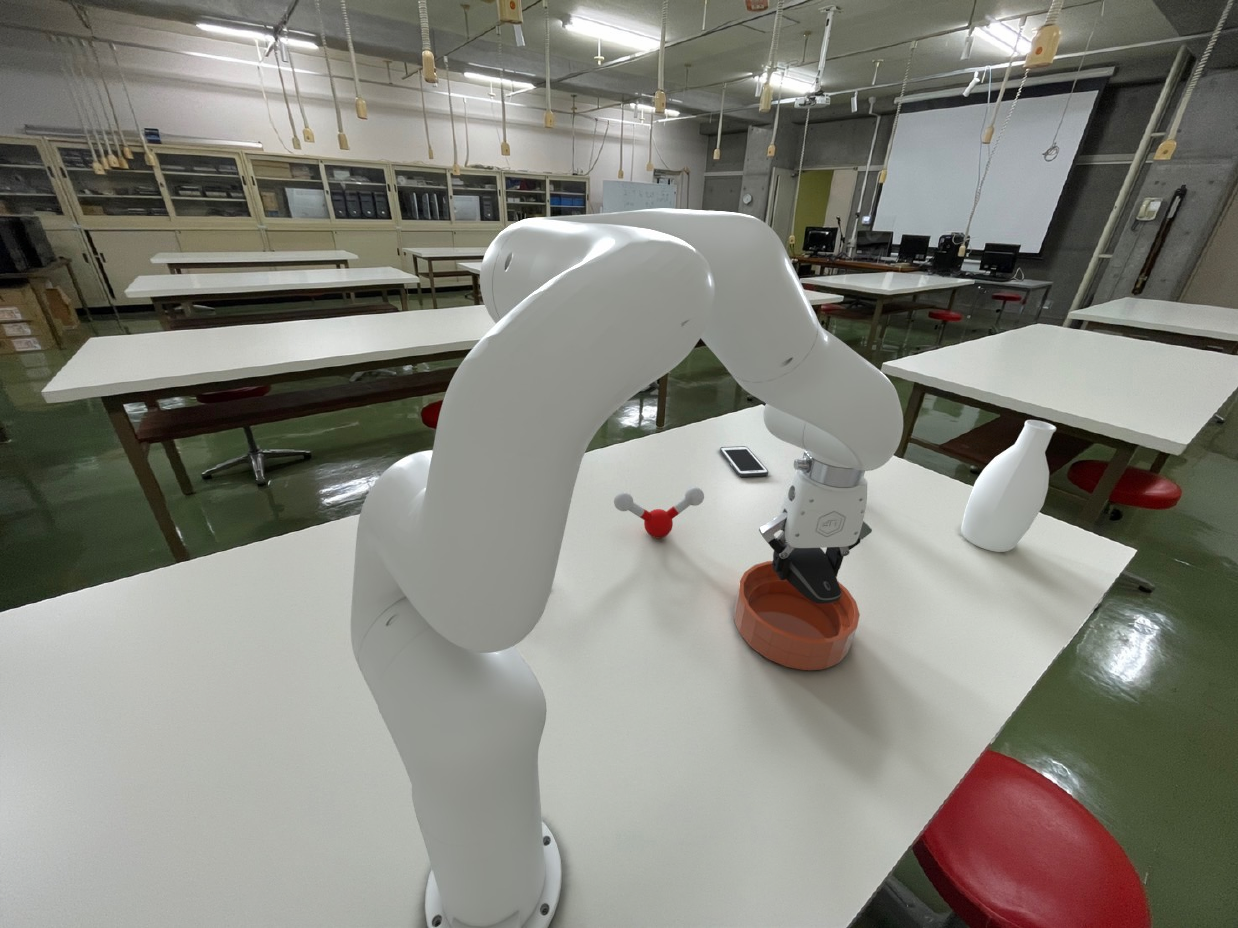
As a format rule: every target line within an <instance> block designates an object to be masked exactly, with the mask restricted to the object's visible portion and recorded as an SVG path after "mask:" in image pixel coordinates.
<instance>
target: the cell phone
mask: <svg viewBox="0 0 1238 928" xmlns="http://www.w3.org/2000/svg"><path fill="white" fill-rule="evenodd" d="M719 452H720V453H721V455H722V456H723V457H724V459H725V460H726V461H727V462H728V463H729V465H730V467H731V468H732V469H733V470H734V471H735V473H736V475H737V476H739V477H742V478H746V477H763V476H764V477H765V476H768V475H769V469H767V467H766V466H765V465H764V464H763V463H762V462H761V461H760V459H758V457H757V456H756V455H755V454H754V453H753V452H752V451H751V450H750V448H749V447H748V446H747V445H745V446H744V445H739V446H738V445H737V446H721V447H719Z"/></svg>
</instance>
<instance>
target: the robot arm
mask: <svg viewBox="0 0 1238 928" xmlns="http://www.w3.org/2000/svg"><path fill="white" fill-rule="evenodd" d="M479 286H480V287H479V289H480V293H481V297H482V301H483V304H484V307H485V308H486V311H487V313H488V315H489V316H490V318H491V319H492V320H493V322H494V323H495V324H494V326H492V327H491V328H490V329H489V330H488V331H487V332H486V333H485V334H484V335H483V336H482V337H481V338H480V339H479V341H478V342H477V343H476V344H475V345H474V346H473V347H472V348H471V350H470V351H469V352H468V353H467V355H466V356H465V357H464V358H463V360H462V362H460V364H459V366H458V368H457V369H456V371H455V372H454V374H453V377H452V378H451V380H450V382H449V385H448V387H447V390H446V391H445V395H444V398H443V401H442V404H441V407H440V411H439V414H438V420H437V424H436V430H435V435H434V441H433V446H432V450H431V449H429V450H423V451H418V452H415V453H412V454H409V455H406V456H405V457H404V456H403V458H401V459H399V460H398V461H396V462H393V464H392V465H390V466H389V467H388V468H387V469H386V470H384V472H383V473H381V475H380V476H378V478H377V479H376V480H375V482H374V483H373V485H372V486H371V488H370V489H369V491H368V493H367V495H366V496H365V500H364V502H363V504H362V506H361V510H360V513H359V517H358V522H357V529H356V540H355V541H356V542H355V553H354V554H355V555H354V565H353V578H352V579H353V580H352V592H351V594H352V595H351V605H350V607H351V609H350V642H351V649H352V653H353V657H354V659H355V661H356V664H357V666H358V668H359V671H360V673H361V675H362V677H363V680H364V681H365V683H366V685H367V687H368V689H369V691H370V693H371V696H372V697H373V700H374V701H375V704H376V706H377V709H378V712H379V715H380V717H381V718H382V720H383V722H384V724H385V726H386V728H387V730H388V732H389V734H390V737H391V739H392V741H393V744H394V745H395V748H396V749H397V752H398V755H399V756H400V759H401V761H402V764H403V766H404V769H405V771H406V774H407V776H408V778H409V779H408V780H409V782H410V785H411V799H412V804H413V809H414V813H415V816H416V821H417V823H418V827H419V831H420V833H421V836H422V839H423V843H424V846H425V849H426V853H427V857H428V860H429V864H430V866H431V867H430V868H431V870H430V872H429V875H428V878H427V879H428V880H427V884H426V888H425V894H424V913H425V919H426V926H427V928H549V926H550V924H551V921H552V920H553V918H554V916H555V914H556V911H557V907H558V904H559V901H560V895H561V890H562V880H563V879H562V876H563V875H562V860H561V855H560V850H559V847H558V844H557V841H556V839H555V837H554V835H553V833H552V832H551V831H550V829H549V827H548V826H547V825H546V823H545V822H544V821H543V818H542V803H541V790H540V776H539V775H540V774H539V750H540V744H541V740H542V736H543V733H544V729H545V725H546V722H547V721H546V720H547V701H546V700H547V699H546V696H545V694H544V693H545V692H544V691H543V688H542V686H541V684H540V682H539V679H538V678H537V676H536V674H535V673H534V671H533V669H532V668H531V666H530V665H529V663H528V662H527V661H526V660H525V658H524V657H523V656H522V654H521V653H520V652H519V651H518V649H517V648H516V647H515V646H516V645H517V644H519V643H521V642H522V641H523V640H525V638H527V636H529V634H530V633H531V632H532V631H533V630H534V628H535V627H536V625H537V624H538V623H539V621H540V620H541V618H542V616H543V614H544V611H545V609H546V605H547V603H548V601H549V598H550V595H551V591H552V589H553V584H554V581H555V576H556V572H557V569H558V568H557V567H558V563H559V559H560V553H561V549H562V544H563V541H564V540H563V539H564V535H565V531H566V526H567V522H568V517H569V513H570V509H571V504H572V498H573V494H574V489H575V485H576V483H577V479H578V475H579V472H580V468H581V464H582V461H583V458H584V456H585V453H586V451H587V449H588V447H589V444H590V443H591V442H592V440H593V439H594V437H595V436H596V434H597V432H598V431H599V429H600V428H601V427H602V426H603V425H604V424H605V423H606V422H607V420H608V419H609V418H610V417H611V416H612V415H613V414H614V413H615V412H616V411H617V410H618V409H620V408H621V407H622V406H623V405H624V404H625V403H626V402H627V401H629V400H630V399H631V398H633V397H634V396H636V395H637V394H639V392H641V391H642V390H644V389H646V387H648V386H650V385H652V383H654V382H656V381H657V380H659V379H661V378H662V377H664V376H665V375H666V374H669V372H671V371H673V369H675V368H676V367H677V366H679V365H680V363H682V361H684V360H685V359H686V358H687V357H688V356H689V354H690V353H691V352H692V351H693V350H694V348H695V347H696V345H697V344H698V342H699V341H700V339H701V341H702V342H703V343H704V344H705V345H706V347H707V348H708V349H709V350H710V351H711V352H712V353H713V354H714V356H715V357H716V358H717V359H718V361H720V363H721V364H722V365H723V367H725V369H726V370H727V372H728V373H729V374H730V375H731V376H732V378H733V379H734V380H735V381H736V383H737V384H738V385H739V386H740V388H742V389H743V390H744V391H746V392H747V393H748V394H750V395H751V396H753V397H755V398H756V399H758V400H760V401H762V402H763V403H765V405H764V409H763V416H762V417H763V423H764V425H765V427H766V429H767V430H768V432H769V433H770V434H771V435H772V436H774V437H775V438H777V439H779V440H781V441H782V442H785V443H787V444H790V445H792V446H794V447H797V448H799V449H802V450H804V451H803V456H802V457H801V458H799V459H798V458H797V459H794V461H793V468H794V470H796V471H795V473H794V475H793V477H792V479H791V481H790V483H789V485H788V488H787V491H786V493H785V495H784V499H783V502H782V505H781V508H780V511H779V514H778V515H777V516H776V517H774V518H773V519H771V520H770V521H768V522H766V523H765V524H763V525H761V526H760V527H759V529H758V531H759V533H760V535H761V537H762V538H763V539H764V540H765V541H766V543H767V544H768V545H769V547H770V548H771V549H772V550H773V552H774V551H775V554H774V558H773V557H772V561H773V562H772V568H773V570H774V572H776V573H777V575H778V577H779V578H780V580H785V579H786V578H787V574H788V570H789V566H790V562H791V559H790V557H789V554H790V553H791V552H792V551H793V550H794V549H795V548H821V549H823V548H825V550H826V551H825V552H824V553H825V554H826V556H827V557H828V559H829V561H830V563H831V566H832V568H833V571H834V573H835V576H836V578H837V577H838V574H839V571H840V569H841V567H842V564H843V560H844V557H848V555H850V551H851V550H852V549H854V548H855V547H857V546H858V545H859V544H860V543H861V541H862V540H864V539H865V538H866V537H868V536H869V535H870V534H871V533H872V532H873V529H872V528H871V526H869V525H868V523H867V522H866V521H864V518H865V514H866V508H867V501H868V480H867V479H866V478H865V477H864V476H865V473H866V472H871V471H874V470H877V469H879V468H881V467H883V466H885V465H886V464H887V463H888V462H889V461H890V460H891V459H892V457H894V455H895V454H896V452H897V450H898V448H899V446H900V443H901V440H902V437H903V432H904V414H903V409H902V405H901V402H900V397H899V394H898V391H897V390H896V387H895V386H894V384H893V383H892V381H891V380H890V379H889V378H888V377H887V376H886V374H884V373H883V372H882V371H881V370H880V369H879V368H877V367H876V366H875V365H874V364H872V363H871V362H870V361H868V360H867V359H866V358H864V357H863V356H862V355H860V354H859V353H858V352H857V351H855V350H854V349H853V348H851V347H850V346H849V345H847V344H846V343H845V342H843V341H842V340H841V339H839V338H838V337H837V336H836V335H834V334H832V333H831V332H829V331H828V330H826V329H824V327H822V325H821V323H820V322H819V319H818V316H817V314H816V312H815V310H814V307H813V306H812V304H811V302H810V299H809V297H808V295H807V293H806V290H805V289H804V286H803V284H802V282H801V280H800V278H799V276H798V274H797V271H796V270H795V267H794V265H793V262H792V261H791V259H790V256H789V254H788V252H787V249H786V248H785V245H784V244H783V242H782V240H781V238H780V237H779V235H778V234H777V233H776V231H775V230H774V229H773V228H772V227H771V226H769V225H768V224H767V223H766V222H765V221H763V220H762V219H759V218H757V217H755V216H752V215H749V214H745V213H739V212H730V211H715V210H697V209H681V208H649V209H647V208H646V209H638V210H628V211H627V210H626V211H616V212H605V213H591V214H589V213H588V214H574V215H573V214H572V215H560V216H559V215H558V216H556V215H555V216H543V217H540V216H539V217H530V218H525V219H522V220H520V221H517V222H515V223H512V224H510V225H509V226H508V227H506V228H505V229H503V230H502V231H501V232H499V234H497V236H496V237H495V238H494V239H493V240H492V241H491V243H490V245H489V246H488V248H487V249H486V251H485V253H484V256H483V259H482V262H481V265H480V273H479ZM779 531H781V532H780V533H779V535H778V536H777V537H776V536H775V534H776V533H778V532H779ZM785 542H787V543H786V545H785V546H784V543H785ZM546 844H547V845H546ZM545 911H546V913H547V914H543V913H544V912H545ZM438 923H439V925H438V926H436V925H437V924H438Z"/></svg>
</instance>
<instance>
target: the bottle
mask: <svg viewBox="0 0 1238 928" xmlns="http://www.w3.org/2000/svg"><path fill="white" fill-rule="evenodd" d="M1056 431H1057V427H1056V425H1053V424H1052V423H1049V422H1047V421H1042V420H1037V419H1027V420H1025V421H1024V426H1023V428H1022V430H1021V432H1020V433H1019V435H1018V437H1017V440H1016V441H1015V442H1014V444H1012V445H1011V446H1010V447H1008V448H1007V449H1006V450H1003V451H1002V452H1001V453H999V454H998V455H996V456H995V457H994V458H993V459H992V460H991V461H990V462H989V463H988V464H987V465H986V466H985V467H984V468H983V469H982V471H981V472H980V474H979V476H978V477H977V479H975V482H974V484H973V487H972V490H971V492H970V495H969V498H968V500H967V503H966V506H965V510H964V514H963V518H962V522H961V527H960V530H961V531H960V532H961V533H962V536H963V537H964V538H965V539H966V540H967V541H968V542H969V543H971V544H972V545H975V546H976V547H978V548H981V549H984V550H987V551H990V552H994V553H1004V552H1005V553H1006V552H1009V551H1011V550H1013V549H1014V548H1015V547H1016V546H1017V544H1018V543H1019V542H1020V541H1021V539H1022V538H1023V537H1024V536H1025V535H1026V534H1027V532H1028V531H1029V529H1030V528H1031V526H1032V525H1033V523H1034V522H1035V520H1036V518H1037V517H1038V515H1039V513H1040V511H1041V510H1042V508H1043V506H1044V504H1045V501H1046V497H1047V495H1048V494H1047V493H1048V490H1049V479H1050V470H1049V469H1050V468H1049V464H1048V461H1047V456H1046V451H1047V449H1048V446H1049V444H1050V442H1051V439H1052V437H1053V434H1054V433H1055V432H1056Z"/></svg>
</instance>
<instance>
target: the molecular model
mask: <svg viewBox="0 0 1238 928" xmlns="http://www.w3.org/2000/svg"><path fill="white" fill-rule="evenodd" d="M704 499H705V494H704V491H703V490H702V488H700V487H698V486H691V487H689V488H688V489H687V490H686V491H685V494H684V497H683V498H682V499H681V500H680V501H678V502H677V503H676V504H675V505H673V506H672V507H670V508H669V509H668V510H665V509H661V508H656V509H652V510H651V511H648V510H647V509H646V508H644V507H642V506H640V505H639V504H637V503H635V502H634V498H633V496H632V495H631V493H628V492H627V491H621V492H618V493H617V494H616V495H615V496H614V499H613V504H614V507H615V508H616V509H617V511H620V512H631V513H632V514H634V515H635V516H637V517H638V518H640V519H641V520H643V525H644V526H643V527H644V529H645V532H647V534H648V535H649V536H651V537H653V538H656V539H657V538H658V539H660V538H664V537H667V536H668V535H669V534H670V533H671V532H672V529H673V526H674V525H673V524H674V522H673V519H674V518H675V517H677V516H678V515H680V514H681V513H683V512H684V511H686V509H688V508H689V507H690V506H693V507H697V506H699V505H701V504H702V503H703V502H704Z"/></svg>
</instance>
